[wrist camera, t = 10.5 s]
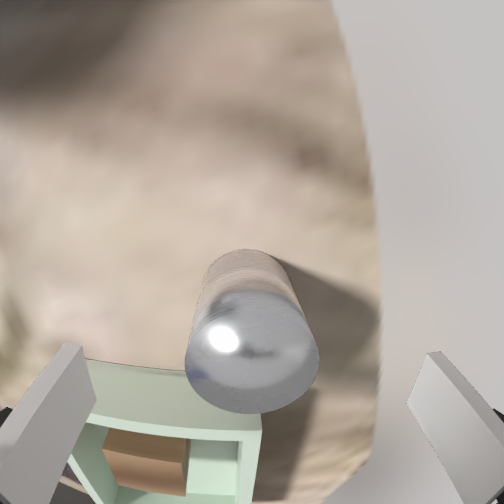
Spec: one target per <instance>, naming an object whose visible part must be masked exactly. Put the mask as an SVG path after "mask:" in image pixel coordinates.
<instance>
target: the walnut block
mask: <svg viewBox="0 0 504 504" xmlns="http://www.w3.org/2000/svg"><path fill="white" fill-rule="evenodd" d="M190 450H191V441H190V439H189V438H178V437H168V436H160V435H152V434H145V433H139V432H133V431H127V430H121V429H116V428H111V427H110V428H109V430H108V433H107V436H106V438H105V441H104V444H103V446H102V451H103V453H104V455H105V458H106V460H107V463H108V465H109V467H110V469H111V472H112V474H113V476H114V478H115V480H116V482H117V484H118V485H120V486H125V487H129V488H134V489H139V490H144V491H149V492H155V493H161V494H168V495H175V496H183V497H186V488H187V478H188V468H189V459H190Z"/></svg>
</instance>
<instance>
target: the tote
mask: <svg viewBox="0 0 504 504" xmlns="http://www.w3.org/2000/svg"><path fill="white" fill-rule="evenodd" d="M85 360H86V364H87V368H88V372H89V375H90V379H91V383H92V386H93V389H94V393H95V396H96V399H97V401H96V403H95V405H94V407H93V409H92V411H91V413H90V415H89V417H88V419H87V421H86V423H85V425H84V427H83V429H82V431H81V433H80V435H79V437H78V440H77V442H76V444H75V446H74V448H73V450H72V452H71V455H70V457H69V459H68V461H67V462H68V464H69V465H70V467H71V469H72V470H73V472H74V473H75V475H76V476H77V478H78V479H79V481H80V482H81V483H82V485H83V486H84V488H85V489H86V491H87V492H88V493H89V495H90V496H91V497H92V499H93V500H94V501H95V503H96V504H251V501H252V495H253V489H254V483H255V476H256V470H257V464H258V457H259V450H260V443H261V436H262V423H261V413H260V414H239V413H233V412H229V411H225V410H222V409H219V408H217V407H215V406H213V405H211V404H210V403H208V402H206V401H205V400H204V399H202V398H201V397H200V396H199V395H198V394H197V393H196V392H195V391H194V389H193V388H192V386H191V385H190V383H189V381H188V378H187V376H186V372H185V371H175V370H164V369H154V368H145V367H137V366H129V365H121V364H114V363H108V362H101V361H95V360H89V359H85ZM110 427H111V428H116V429H121V430H127V431H133V432H139V433H145V434H152V435H160V436H168V437H178V438H189V439H190V441H191V450H190V459H189V468H188V478H187V488H186V497H183V496H175V495H168V494H161V493H155V492H149V491H144V490H139V489H134V488H129V487H125V486H120V485H118V484H117V482H116V480H115V478H114V476H113V474H112V472H111V469H110V467H109V465H108V463H107V460H106V458H105V455H104V453H103V451H102V446H103V444H104V441H105V438H106V436H107V433H108V430H109V428H110Z"/></svg>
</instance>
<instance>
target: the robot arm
mask: <svg viewBox="0 0 504 504" xmlns="http://www.w3.org/2000/svg"><path fill="white" fill-rule="evenodd" d="M96 401H97V399H96V396H95V393H94V389H93V386H92V383H91V379H90V375H89V372H88V368H87V364H86V360H85V357H84V352H83V348H82V346H80V345H74V344H69V343H65V344H64V345H63V346H62V347H61V348H60V350H59V351H58V352H57V353H56V354H55V356H54V357H53V358H52V359H51V361H50V362H49V363H48V364H47V366H46V367H45V368H44V369H43V371H42V372H41V373H40V375H39V376H38V377H37V378H36V380H35V381H34V382H33V384H32V385H31V386H30V388H29V389H28V390H27V391H26V393H25V394H24V395H23V397H22V398H21V400H20V401H19V402H18V404H17V405H16V406H15V408H14V409H11V408H8V407H6V408H5V409H3V410H2V411H0V504H49V503H50V500H51V498H52V496H53V493H54V491H55V489H56V486H57V484H58V481H59V479H60V477H61V475H62V472H63V470H64V468H65V466H66V463H67V461H68V459H69V457H70V455H71V452H72V450H73V448H74V446H75V444H76V442H77V440H78V437H79V435H80V433H81V431H82V429H83V427H84V425H85V423H86V421H87V419H88V417H89V415H90V413H91V411H92V409H93V407H94V405H95V403H96ZM406 405H407V406H408V408H409V409H410V411H411V412H412V414H413V416H414V417H415V419H416V421H417V422H418V424H419V426H420V427H421V429H422V431H423V432H424V434H425V436H426V437H427V439H428V440H429V442H430V444H431V446H432V448H433V449H434V451H435V452H436V454H437V456H438V458H439V459H440V461H441V463H442V465H443V466H444V468H445V470H446V472H447V473H448V475H449V477H450V479H451V480H452V482H453V484H454V486H455V488H456V490H457V491H458V493H459V495H460V497H461V499H462V501H463V503H464V504H491V503H492V502H493V501H494V500H495V499H497V501H498V503H497V504H504V415H503V414H502V413H500V412H498V411H497V410H495V409H492V408H491V407H490V406H489V405H488V404H487V403H486V401H485V400H484V399H483V398H482V397H481V395H480V394H479V393H478V392H477V391H476V390H475V389H474V387H473V386H471V384H470V383H469V382H468V381H467V380H466V378H465V377H464V376H463V375H462V374H461V373H460V372H459V371H458V370H457V369H456V367H455V366H454V365H453V364H452V363H451V362H450V361H449V360H448V359H447V358H446V357H445V356H444V355H443V354H442V352H441V351H439V352H432V353H427V354H426V357H425V360H424V362H423V364H422V367H421V370H420V372H419V375H418V377H417V380H416V382H415V384H414V387H413V389H412V392H411V394H410V396H409V398H408V400H407V403H406Z"/></svg>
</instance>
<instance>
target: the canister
mask: <svg viewBox="0 0 504 504" xmlns="http://www.w3.org/2000/svg"><path fill="white" fill-rule="evenodd" d="M319 363H320V357H319V350H318V347H317V344H316V342H315V339H314V337H313V335H312V332H311V330H310V327H309V325H308V323H307V320H306V318H305V316H304V313H303V311H302V308H301V306H300V304H299V301H298V299H297V297H296V294H295V292H294V290H293V287H292V285H291V283H290V280H289V278H288V276H287V274H286V272H285V270H284V268H283V267H282V266H281V264H280V263H279V262H278V261H277V260H276V259H274V258H273V257H272V256H270V255H268V254H266V253H263V252H261V251H257V250H250V249H242V250H236V251H232V252H229V253H227V254H225V255H223V256H221V257H220V258H218V259H217V260H216V261H215V262H214V263H213V264H212V265H211V266H210V267H209V269H208V270H207V272H206V274H205V276H204V279H203V283H202V287H201V291H200V295H199V299H198V303H197V308H196V312H195V316H194V320H193V325H192V329H191V334H190V338H189V342H188V347H187V351H186V356H185V372H186V376H187V378H188V381H189V383H190V385H191V386H192V388H193V389H194V391H195V392H196V393H197V394H198V395H199V396H200V397H201V398H202V399H204V400H205V401H206V402H208V403H210V404H211V405H213V406H215V407H217V408H219V409H222V410H225V411H229V412H233V413H239V414H260V413H266V412H271V411H274V410H277V409H280V408H283V407H285V406H287V405H289V404H291V403H292V402H294V401H295V400H297V399H298V398H300V397H301V396H302V395H303V394H304V393H305V392H306V391H307V390H308V389H309V387H310V386H311V385H312V383H313V382H314V380H315V378H316V375H317V372H318V369H319Z"/></svg>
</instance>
